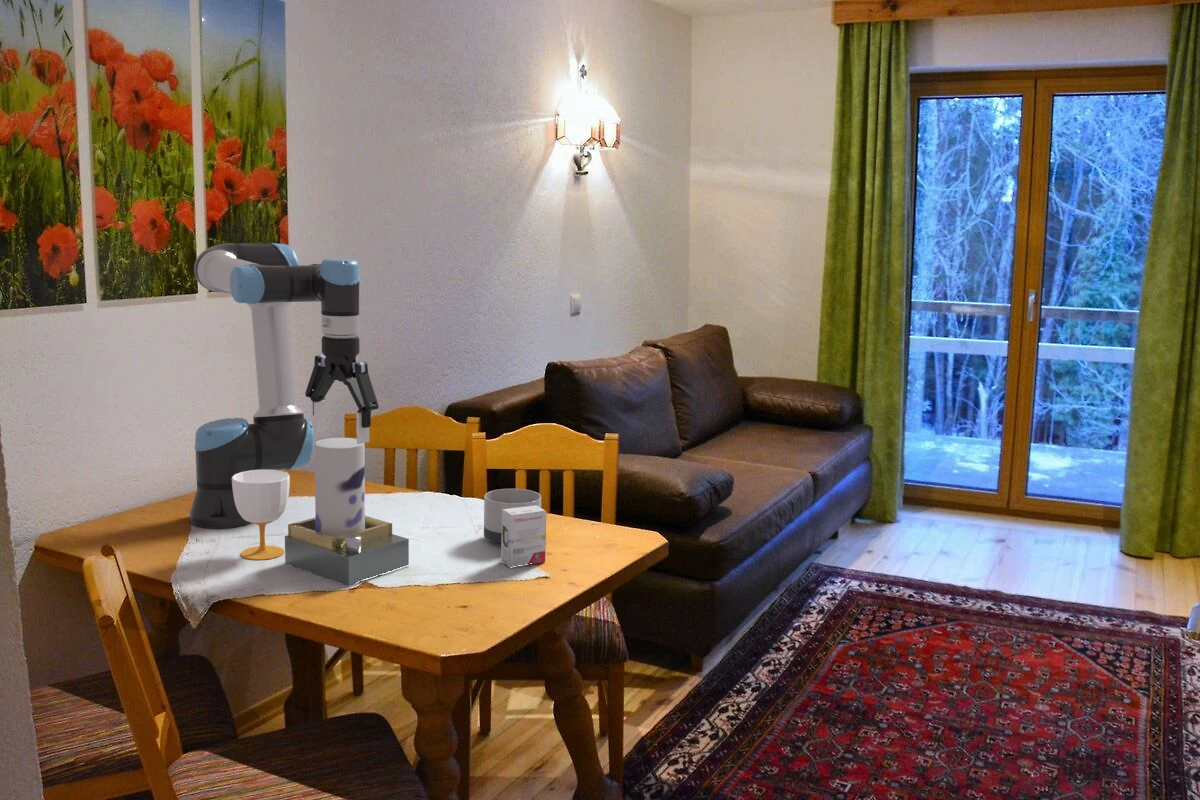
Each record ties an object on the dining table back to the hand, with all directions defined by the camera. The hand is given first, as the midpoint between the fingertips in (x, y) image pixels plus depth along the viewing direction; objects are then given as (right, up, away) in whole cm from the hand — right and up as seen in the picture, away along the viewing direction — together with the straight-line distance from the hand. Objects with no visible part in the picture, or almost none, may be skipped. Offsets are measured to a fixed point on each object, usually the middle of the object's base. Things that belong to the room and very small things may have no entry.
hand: (341, 437), depth 227 cm
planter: (+34, -24, +22) cm, 47 cm away
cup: (-19, -25, +8) cm, 32 cm away
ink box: (+37, -27, +7) cm, 47 cm away
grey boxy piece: (+1, -27, +2) cm, 27 cm away
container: (-1, -21, +2) cm, 21 cm away
